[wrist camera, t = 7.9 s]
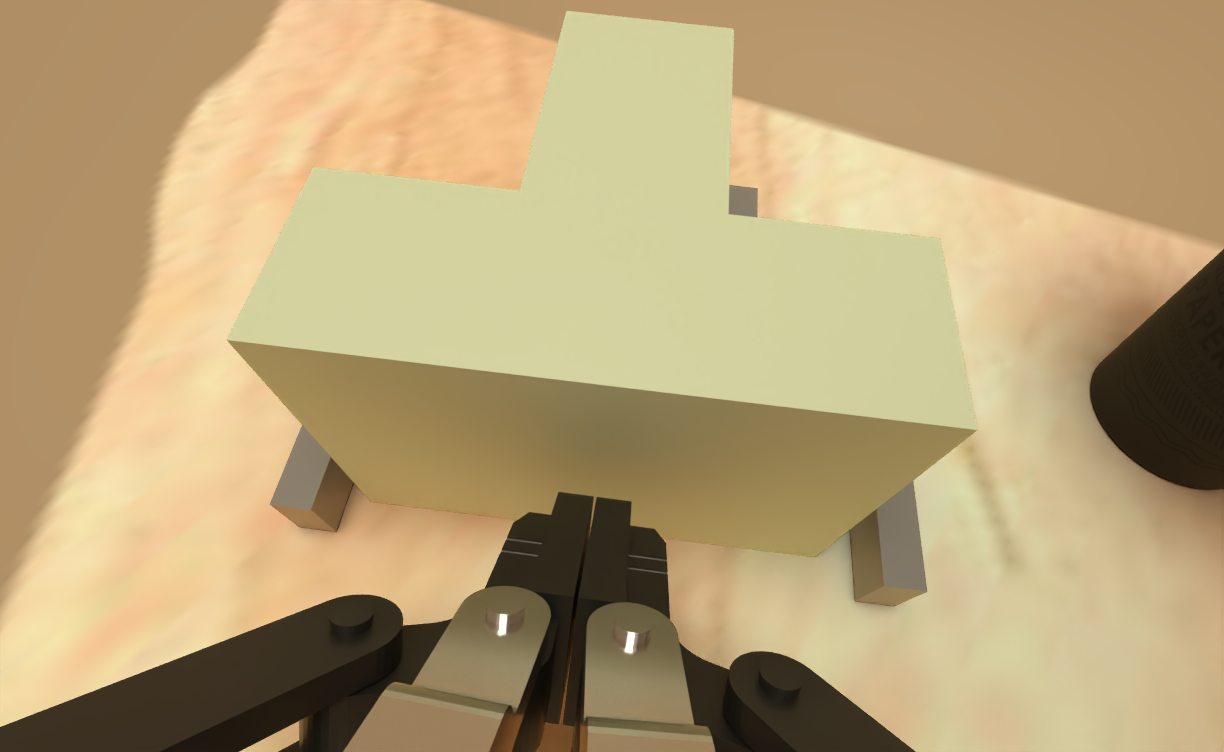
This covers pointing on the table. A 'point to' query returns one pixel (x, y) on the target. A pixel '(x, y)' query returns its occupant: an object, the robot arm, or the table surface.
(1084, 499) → the table surface
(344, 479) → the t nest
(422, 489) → the t block
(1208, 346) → the drinking cup
